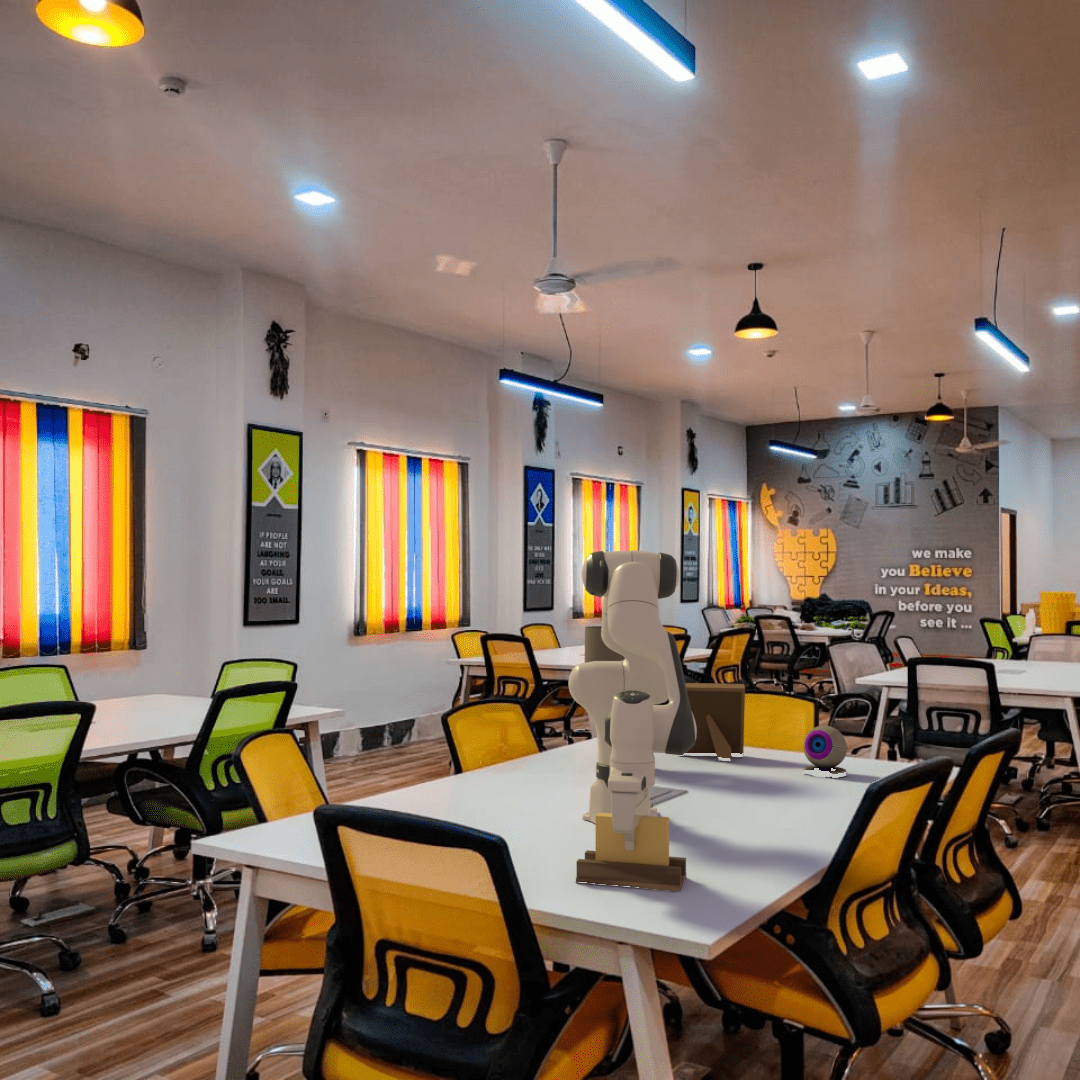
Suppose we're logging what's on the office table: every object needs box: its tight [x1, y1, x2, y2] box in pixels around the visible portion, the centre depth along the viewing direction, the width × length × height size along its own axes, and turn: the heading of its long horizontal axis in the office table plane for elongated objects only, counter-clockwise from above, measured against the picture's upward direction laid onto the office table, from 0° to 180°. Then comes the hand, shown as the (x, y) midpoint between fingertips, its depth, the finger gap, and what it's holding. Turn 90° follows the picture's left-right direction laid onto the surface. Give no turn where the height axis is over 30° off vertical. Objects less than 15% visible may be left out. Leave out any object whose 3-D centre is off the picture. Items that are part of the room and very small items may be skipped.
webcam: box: [803, 725, 848, 774], centre depth 323 cm, size 13×13×15 cm
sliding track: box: [575, 849, 687, 892], centre depth 204 cm, size 10×20×4 cm, turn 75°
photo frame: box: [685, 682, 746, 759], centre depth 352 cm, size 15×22×25 cm
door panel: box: [594, 813, 670, 866], centre depth 204 cm, size 3×14×9 cm, turn 75°
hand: (632, 846), depth 204 cm, fingers closed on door panel, 3 cm apart
